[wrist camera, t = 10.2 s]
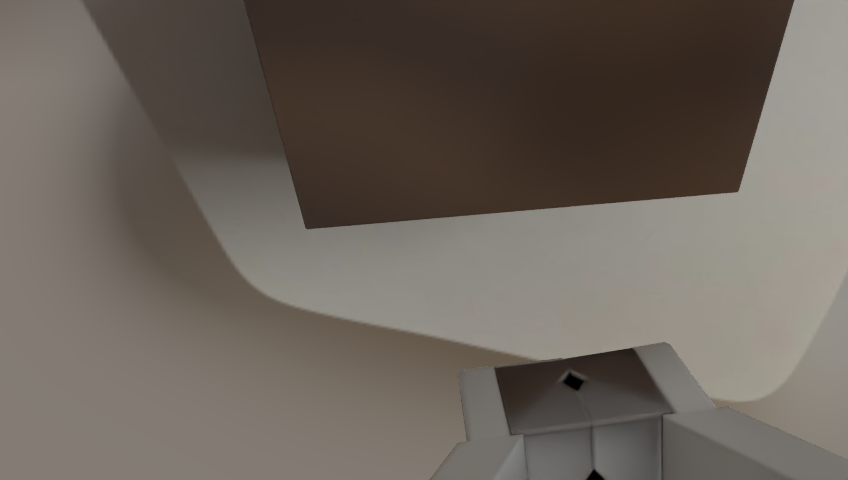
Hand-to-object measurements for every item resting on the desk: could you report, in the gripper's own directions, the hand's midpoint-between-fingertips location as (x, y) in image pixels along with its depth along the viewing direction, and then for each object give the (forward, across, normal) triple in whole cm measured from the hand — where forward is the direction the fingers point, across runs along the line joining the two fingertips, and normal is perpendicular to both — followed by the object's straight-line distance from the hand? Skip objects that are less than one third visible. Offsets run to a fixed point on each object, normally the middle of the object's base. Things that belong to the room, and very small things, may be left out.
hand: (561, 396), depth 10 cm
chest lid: (+12, -2, -4) cm, 13 cm away
